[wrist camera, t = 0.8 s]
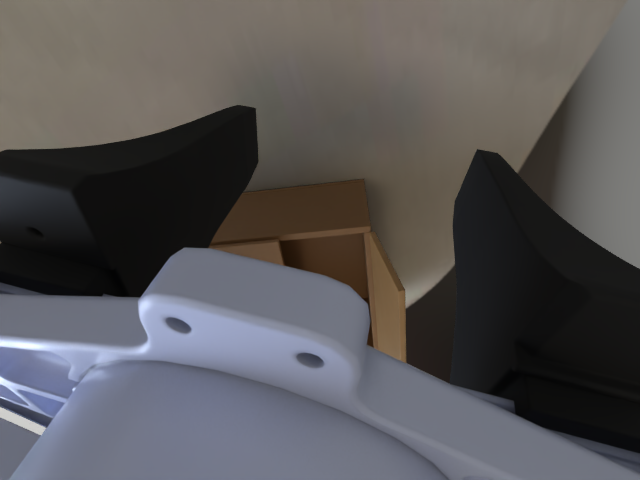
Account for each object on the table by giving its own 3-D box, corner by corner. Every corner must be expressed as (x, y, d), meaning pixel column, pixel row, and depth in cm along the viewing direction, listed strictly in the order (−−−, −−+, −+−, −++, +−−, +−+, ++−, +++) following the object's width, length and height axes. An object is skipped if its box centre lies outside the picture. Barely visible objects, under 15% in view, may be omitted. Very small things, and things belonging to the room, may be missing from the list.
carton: (363, 178, 30) (372, 232, 23) (373, 297, 37) (381, 365, 30) (223, 194, 31) (191, 249, 24) (257, 306, 38) (240, 373, 31)
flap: (369, 232, 23) (374, 231, 23) (379, 364, 30) (383, 363, 30) (398, 291, 18) (405, 290, 18) (402, 432, 25) (407, 431, 25)
